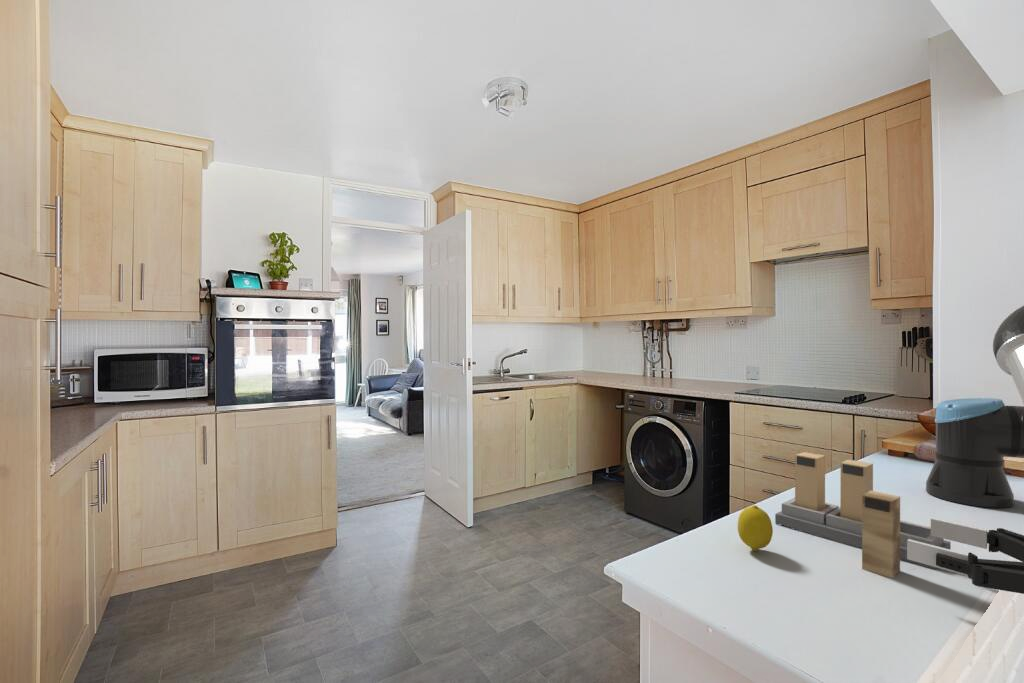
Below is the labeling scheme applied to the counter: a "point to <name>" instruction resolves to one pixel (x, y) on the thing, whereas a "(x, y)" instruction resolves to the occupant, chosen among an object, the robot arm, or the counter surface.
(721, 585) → the counter surface
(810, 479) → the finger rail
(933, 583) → the counter surface
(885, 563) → the oak finger
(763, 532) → the lemon
